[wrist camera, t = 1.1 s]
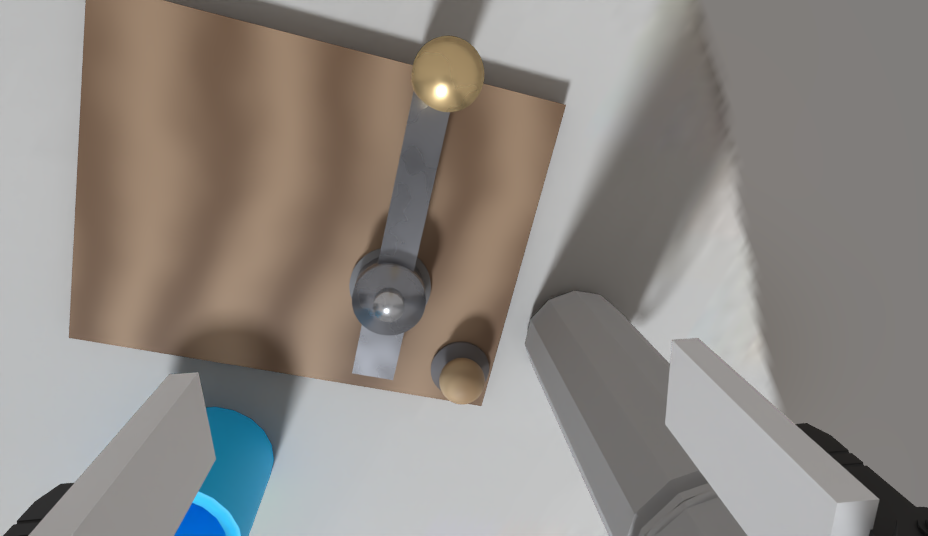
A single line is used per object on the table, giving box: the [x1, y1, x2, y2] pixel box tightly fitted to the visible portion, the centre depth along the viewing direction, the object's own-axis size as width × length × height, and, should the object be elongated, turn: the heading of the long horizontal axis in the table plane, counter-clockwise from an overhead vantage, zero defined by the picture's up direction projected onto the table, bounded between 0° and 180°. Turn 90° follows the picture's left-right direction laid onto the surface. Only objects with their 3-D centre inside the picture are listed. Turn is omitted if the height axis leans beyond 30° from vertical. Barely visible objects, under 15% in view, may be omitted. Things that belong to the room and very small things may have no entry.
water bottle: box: [525, 291, 747, 536], centre depth 28 cm, size 9×8×25 cm
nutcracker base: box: [69, 0, 566, 406], centre depth 34 cm, size 27×21×4 cm
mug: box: [174, 407, 274, 536], centre depth 37 cm, size 12×8×8 cm
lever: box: [352, 36, 484, 380], centre depth 29 cm, size 20×4×11 cm, turn 166°
